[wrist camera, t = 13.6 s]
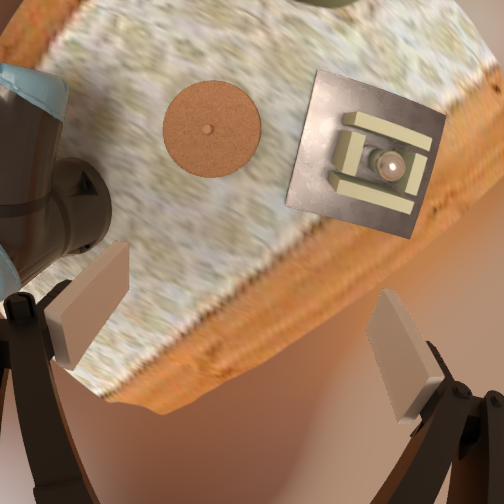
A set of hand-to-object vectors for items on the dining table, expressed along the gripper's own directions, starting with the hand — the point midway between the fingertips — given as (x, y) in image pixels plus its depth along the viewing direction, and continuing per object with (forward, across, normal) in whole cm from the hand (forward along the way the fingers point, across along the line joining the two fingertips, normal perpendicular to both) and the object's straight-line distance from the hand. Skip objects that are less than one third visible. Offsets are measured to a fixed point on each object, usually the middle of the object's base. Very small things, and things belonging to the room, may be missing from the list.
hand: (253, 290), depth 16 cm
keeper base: (+28, +13, +6) cm, 31 cm away
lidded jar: (+29, -6, +6) cm, 30 cm away
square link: (+26, +12, +6) cm, 30 cm away
